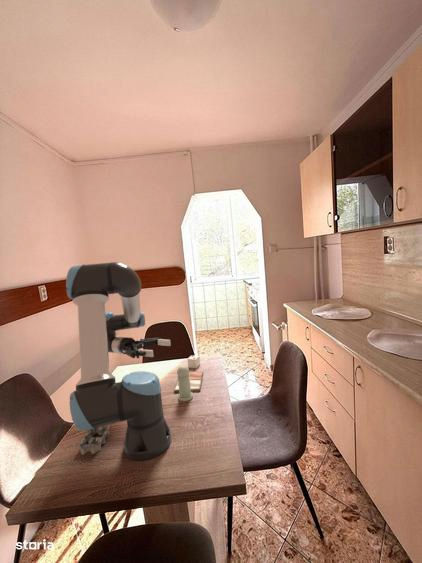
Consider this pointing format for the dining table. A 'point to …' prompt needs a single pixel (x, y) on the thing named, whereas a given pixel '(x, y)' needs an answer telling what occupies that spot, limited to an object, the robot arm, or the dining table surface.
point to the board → (193, 382)
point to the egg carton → (93, 440)
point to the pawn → (184, 384)
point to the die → (193, 361)
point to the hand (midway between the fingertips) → (161, 348)
